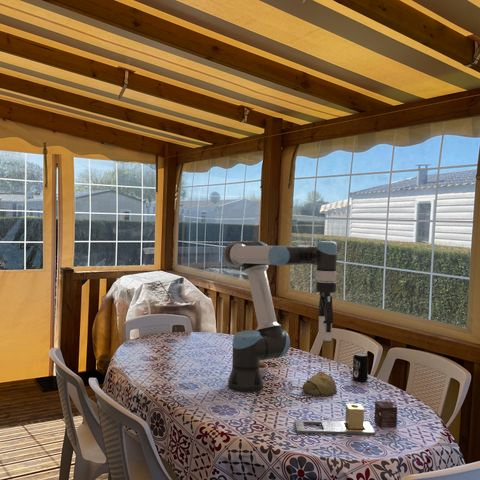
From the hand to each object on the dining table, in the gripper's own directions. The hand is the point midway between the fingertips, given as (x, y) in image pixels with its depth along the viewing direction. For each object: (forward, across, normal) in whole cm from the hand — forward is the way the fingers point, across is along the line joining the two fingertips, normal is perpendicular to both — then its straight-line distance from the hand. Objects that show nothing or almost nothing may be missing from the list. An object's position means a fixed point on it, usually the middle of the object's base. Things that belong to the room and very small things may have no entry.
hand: (324, 336), depth 194 cm
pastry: (+27, +16, -1) cm, 31 cm away
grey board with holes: (+27, -23, 0) cm, 35 cm away
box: (+27, -18, -19) cm, 38 cm away
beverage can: (+27, +33, -22) cm, 48 cm away
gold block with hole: (+27, -23, -7) cm, 36 cm away
